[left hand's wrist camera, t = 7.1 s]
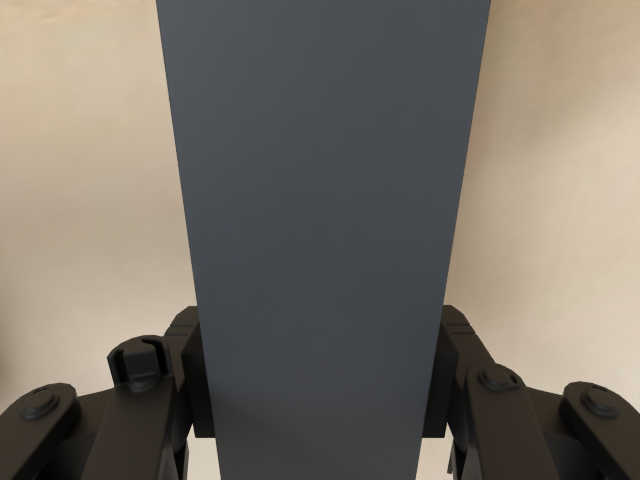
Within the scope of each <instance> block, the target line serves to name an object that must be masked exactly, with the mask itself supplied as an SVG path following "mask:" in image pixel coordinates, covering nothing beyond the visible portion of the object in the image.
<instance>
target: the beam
mask: <svg viewBox="0 0 640 480" xmlns="http://www.w3.org/2000/svg"><path fill="white" fill-rule="evenodd" d="M490 3H491V0H156V5H157V13H158V20H159V27H160V35H161V42H162V49H163V57H164V64H165V71H166V79H167V86H168V93H169V101H170V108H171V116H172V123H173V130H174V138H175V145H176V152H177V160H178V167H179V174H180V182H181V189H182V196H183V204H184V211H185V218H186V226H187V233H188V240H189V248H190V255H191V263H192V270H193V277H194V285H195V292H196V299H197V307H198V314H199V321H200V329H201V336H202V343H203V351H204V358H205V365H206V373H207V380H208V387H209V395H210V402H211V410H212V417H213V424H214V432H215V439H216V446H217V454H218V461H219V468H220V476H221V480H415V479H416V473H417V467H418V460H419V454H420V447H421V441H422V435H423V428H424V422H425V416H426V409H427V403H428V397H429V390H430V384H431V378H432V371H433V365H434V358H435V352H436V346H437V339H438V333H439V327H440V320H441V314H442V308H443V301H444V295H445V289H446V282H447V276H448V269H449V263H450V257H451V250H452V244H453V238H454V231H455V225H456V219H457V212H458V206H459V200H460V193H461V187H462V181H463V174H464V168H465V161H466V155H467V149H468V142H469V136H470V130H471V123H472V117H473V111H474V104H475V98H476V92H477V85H478V79H479V72H480V66H481V60H482V53H483V47H484V41H485V34H486V28H487V22H488V15H489V9H490Z"/></svg>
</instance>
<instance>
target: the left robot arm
mask: <svg viewBox="0 0 640 480" xmlns="http://www.w3.org/2000/svg"><path fill="white" fill-rule="evenodd" d="M107 360H108V364H109V367H110V371H111V375H112V378H113V382H114V388H112V389H108V390H105V391H101V392H97V393H92V394H88V395H84V396H79V397H78V396H77V393H76V390H75V388H74V387H72V386H71V385H70V384H65V383H55V384H48V385H45V386H42V387H39V388H37V389H34V390H32V391H30V392H29V393H27V394H25V395H23V396H21V397H20V398H19V399H18V400H16V401H15V402H14V403H13V404H11V405H10V406H9V407H8V408H7V409H6V410H5V411H4V412H3V413H2V414H1V415H0V480H187V470H188V458H189V449H188V443H187V436H188V434H189V431H190V428H191V426H192V423H193V428H194V433H195V438H215V432H214V424H213V417H212V410H211V402H210V395H209V387H208V380H207V373H206V365H205V358H204V351H203V343H202V336H201V329H200V321H199V314H198V307H197V306H188V307H187V308H186V309H184V310H183V311H181V312H180V313H179V314H177V315H176V317H175V318H174V320H173V321H172V323H171V324H170V327H169V328H168V329H167V331H166V332H165V335H164V336H163V337H161V336H157V335H143V336H139V337H135V338H132V339H129V340H127V341H125V342H123V343H121V344H119V345H118V346H117V347H115V348H114V349H113V350H112V351H111V352H110V354H109V355H108V356H107ZM447 422H448V425H449V428H450V430H451V433H452V435H453V443H452V448H451V454H450V459H449V464H448V470H447V473H449V474H452V470H453V480H640V413H639V412H638V411H637V410H636V409H635V408H634V407H633V406H632V405H631V404H630V403H628V402H627V401H626V400H625V399H623V398H622V397H621V396H620V395H618V394H616V393H614V392H613V391H611V390H609V389H607V388H605V387H602V386H599V385H596V384H593V383H588V382H581V381H579V382H572V383H569V384H568V385H567V386H566V387H565V389H564V392H563V395H558V394H554V393H550V392H545V391H541V390H537V389H533V388H530V387H526V385H525V384H524V382H523V380H522V379H521V377H520V376H518V375H517V374H516V373H515V372H514V371H512V370H511V369H509V368H507V367H505V366H503V365H500V364H497V363H495V361H494V360H493V358H492V357H491V355H490V354H489V352H488V351H487V349H486V348H485V346H484V345H483V343H482V342H481V340H480V339H479V337H478V336H477V335H476V334H475V331H474V330H473V328H472V327H471V326H470V324H469V322H468V320H467V319H466V317H465V316H464V314H463V313H461V312H460V311H459V310H457V309H456V308H454V307H453V306H452V305H443V308H442V314H441V320H440V327H439V333H438V339H437V346H436V352H435V358H434V365H433V371H432V378H431V384H430V390H429V397H428V403H427V409H426V416H425V422H424V428H423V435H422V438H444V437H445V431H446V426H447Z"/></svg>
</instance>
